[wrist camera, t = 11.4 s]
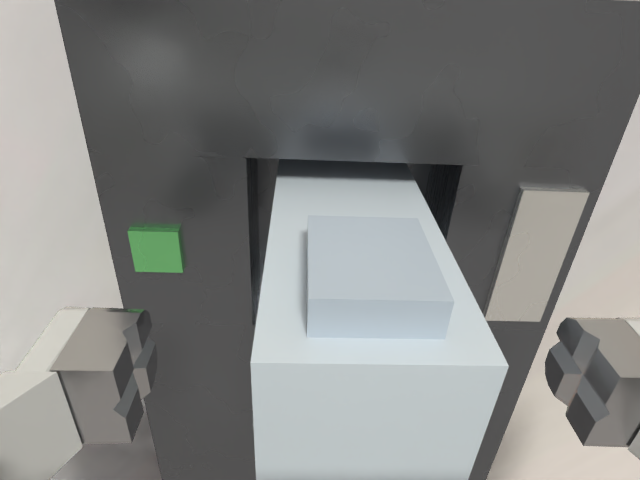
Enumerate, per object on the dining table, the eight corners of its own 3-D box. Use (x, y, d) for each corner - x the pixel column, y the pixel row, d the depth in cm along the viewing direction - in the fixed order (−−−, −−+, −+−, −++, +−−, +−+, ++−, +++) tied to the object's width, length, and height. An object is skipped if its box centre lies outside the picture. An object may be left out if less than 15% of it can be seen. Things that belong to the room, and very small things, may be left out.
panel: (424, 534, 25) (438, 605, 22) (202, 535, 24) (188, 607, 22) (592, -6, 12) (682, 3, 9) (108, -31, 11) (42, -30, 8)
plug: (388, 258, 15) (457, 508, 8) (280, 255, 15) (257, 508, 8) (406, 132, 13) (522, 327, 6) (280, 127, 13) (248, 322, 6)
